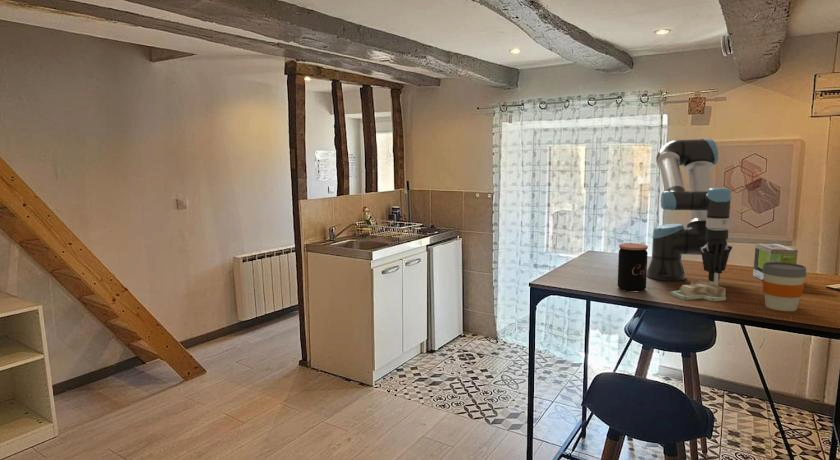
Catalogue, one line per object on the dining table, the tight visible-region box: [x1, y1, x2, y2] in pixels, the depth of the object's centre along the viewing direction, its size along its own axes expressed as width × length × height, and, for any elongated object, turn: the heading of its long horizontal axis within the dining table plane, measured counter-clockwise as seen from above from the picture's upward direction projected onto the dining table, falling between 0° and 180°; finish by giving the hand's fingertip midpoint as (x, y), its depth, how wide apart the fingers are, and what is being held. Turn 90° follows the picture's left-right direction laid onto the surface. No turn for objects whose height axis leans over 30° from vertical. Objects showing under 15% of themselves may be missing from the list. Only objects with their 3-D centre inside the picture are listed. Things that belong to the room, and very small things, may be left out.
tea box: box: [752, 243, 798, 281], centre depth 214 cm, size 15×10×15 cm, turn 168°
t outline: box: [669, 286, 727, 303], centre depth 195 cm, size 14×17×1 cm
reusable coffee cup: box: [761, 262, 807, 312], centre depth 177 cm, size 13×13×15 cm
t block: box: [681, 279, 727, 297], centre depth 195 cm, size 12×13×4 cm
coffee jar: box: [617, 242, 649, 292], centre depth 205 cm, size 11×11×18 cm
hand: (713, 289), depth 197 cm, fingers closed
